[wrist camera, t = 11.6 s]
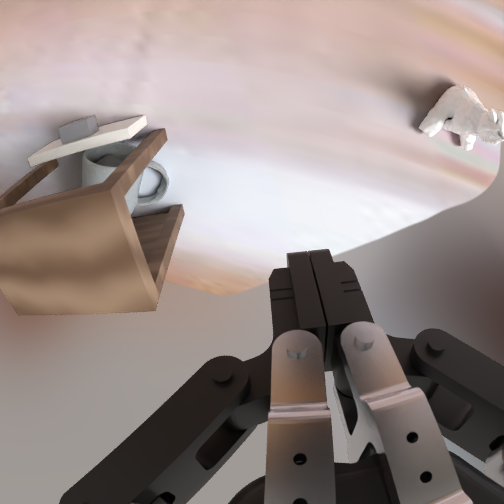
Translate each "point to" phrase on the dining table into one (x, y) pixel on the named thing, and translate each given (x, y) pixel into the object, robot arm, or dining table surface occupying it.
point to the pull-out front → (86, 137)
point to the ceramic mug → (107, 160)
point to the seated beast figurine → (464, 118)
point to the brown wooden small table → (85, 244)
